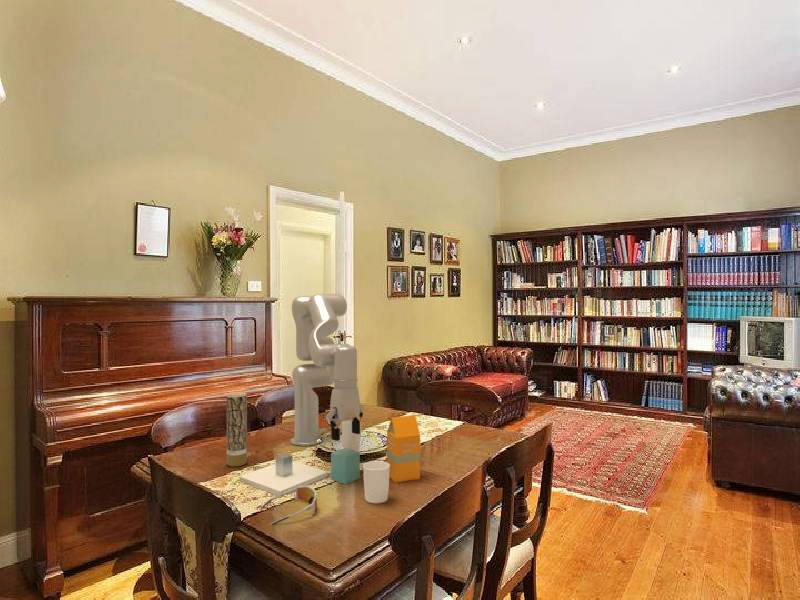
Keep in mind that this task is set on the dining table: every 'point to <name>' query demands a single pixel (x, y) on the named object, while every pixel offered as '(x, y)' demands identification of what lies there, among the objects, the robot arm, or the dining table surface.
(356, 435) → the drinking glass
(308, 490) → the sunglasses
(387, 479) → the white cup
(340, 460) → the mint green cube
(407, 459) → the orange juice
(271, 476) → the post board
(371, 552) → the dining table surface
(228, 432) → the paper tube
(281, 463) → the grey upright block
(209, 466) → the dining table surface
